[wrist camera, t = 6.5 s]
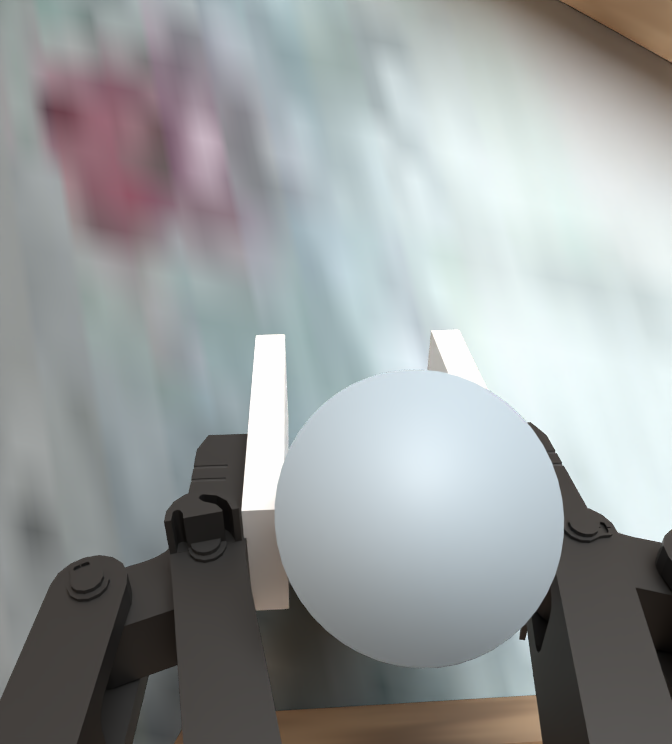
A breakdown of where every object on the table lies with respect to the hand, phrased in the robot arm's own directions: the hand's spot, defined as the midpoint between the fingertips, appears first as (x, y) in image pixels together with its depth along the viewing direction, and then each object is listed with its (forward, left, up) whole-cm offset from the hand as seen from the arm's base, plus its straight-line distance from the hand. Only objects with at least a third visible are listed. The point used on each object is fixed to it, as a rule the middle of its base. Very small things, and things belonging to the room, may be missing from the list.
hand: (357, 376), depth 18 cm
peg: (-2, +3, -4) cm, 5 cm away
